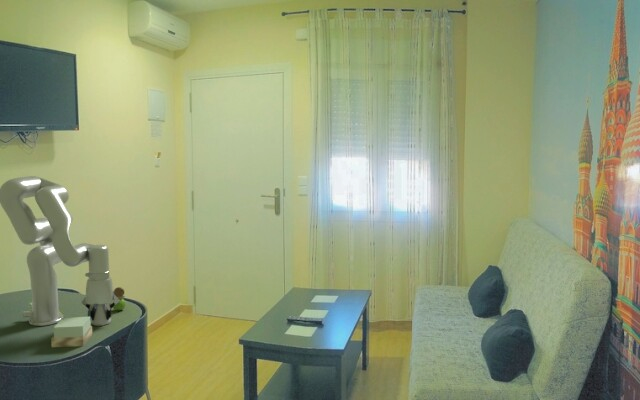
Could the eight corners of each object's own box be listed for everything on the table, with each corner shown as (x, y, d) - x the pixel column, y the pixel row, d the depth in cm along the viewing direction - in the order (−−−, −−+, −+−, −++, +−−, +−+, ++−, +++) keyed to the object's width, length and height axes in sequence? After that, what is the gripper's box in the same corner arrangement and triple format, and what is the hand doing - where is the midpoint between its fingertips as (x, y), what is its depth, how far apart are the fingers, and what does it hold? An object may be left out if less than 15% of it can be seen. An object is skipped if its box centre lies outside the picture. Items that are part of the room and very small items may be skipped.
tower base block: (51, 348, 190) (51, 338, 189) (62, 336, 201) (61, 326, 200) (83, 347, 191) (82, 336, 191) (92, 335, 202) (91, 325, 202)
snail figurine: (112, 308, 231) (111, 282, 230) (127, 308, 232) (126, 281, 230) (108, 312, 226) (107, 285, 224) (123, 312, 226) (122, 285, 225)
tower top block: (54, 338, 189) (53, 327, 189) (63, 327, 199) (62, 317, 199) (83, 336, 191) (82, 326, 190) (90, 326, 201) (90, 316, 200)
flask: (114, 321, 216) (113, 297, 215) (102, 327, 209) (101, 303, 208) (100, 318, 218) (99, 295, 217) (87, 324, 211) (86, 301, 210)
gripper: (74, 278, 206) (76, 323, 209) (119, 277, 208) (120, 321, 211) (80, 273, 214) (82, 316, 216) (123, 272, 216) (125, 314, 218)
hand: (101, 318), depth 213 cm, fingers closed on flask, 5 cm apart
